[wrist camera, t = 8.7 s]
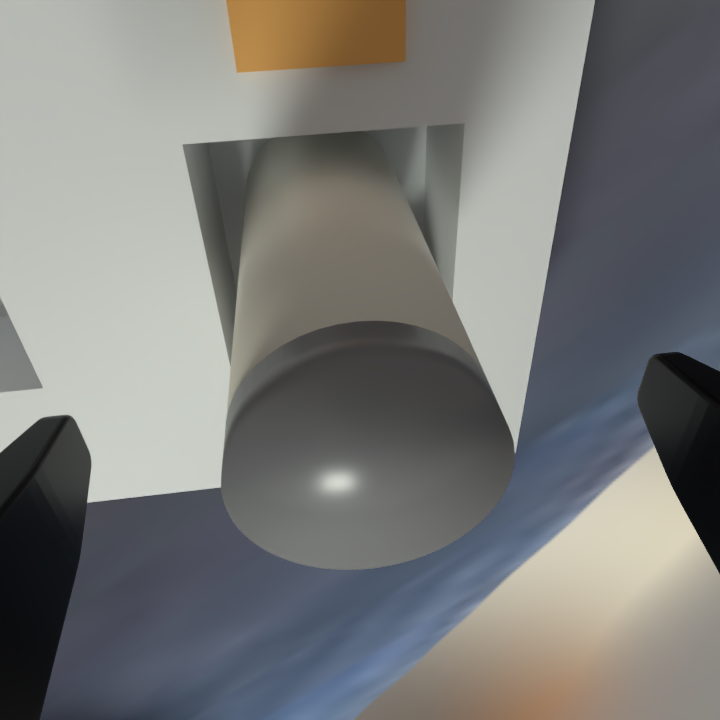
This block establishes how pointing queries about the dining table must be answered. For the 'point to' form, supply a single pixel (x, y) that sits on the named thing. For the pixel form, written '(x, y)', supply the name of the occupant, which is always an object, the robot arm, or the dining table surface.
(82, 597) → the dining table surface
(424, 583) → the dining table surface
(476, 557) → the dining table surface
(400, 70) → the port box
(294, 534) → the plug
